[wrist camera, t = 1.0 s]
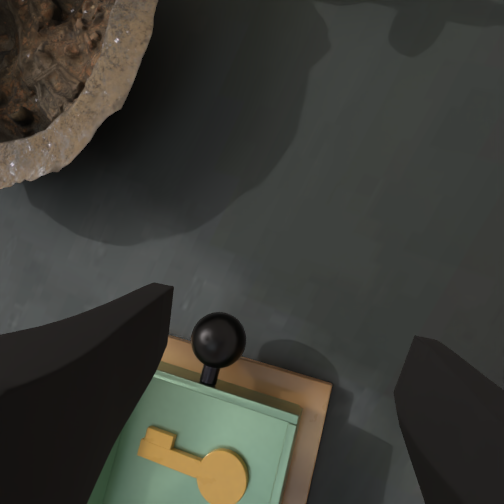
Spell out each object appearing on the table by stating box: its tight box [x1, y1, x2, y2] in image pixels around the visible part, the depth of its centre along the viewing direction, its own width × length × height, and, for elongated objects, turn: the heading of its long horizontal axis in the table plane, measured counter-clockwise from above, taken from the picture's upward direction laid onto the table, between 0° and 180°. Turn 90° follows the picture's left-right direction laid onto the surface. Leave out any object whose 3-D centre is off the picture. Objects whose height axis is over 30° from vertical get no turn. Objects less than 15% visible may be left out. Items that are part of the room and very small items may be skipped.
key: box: [137, 426, 249, 504], centre depth 23 cm, size 7×3×1 cm, turn 76°
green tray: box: [87, 312, 303, 504], centre depth 23 cm, size 15×11×3 cm
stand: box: [161, 335, 333, 504], centre depth 24 cm, size 11×14×4 cm
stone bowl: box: [0, 0, 158, 189], centre depth 30 cm, size 25×25×9 cm
